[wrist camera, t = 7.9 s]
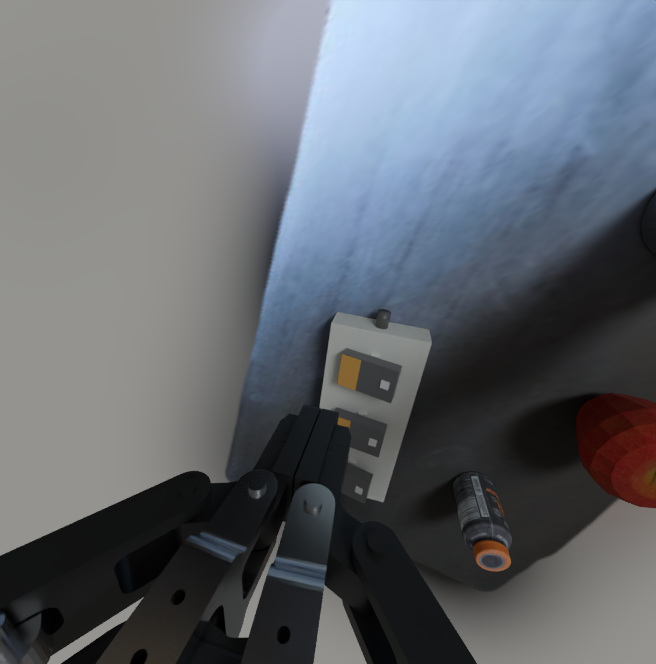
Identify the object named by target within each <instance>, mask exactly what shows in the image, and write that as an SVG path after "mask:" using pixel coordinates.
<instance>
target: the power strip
mask: <svg viewBox="0 0 656 664" xmlns="http://www.w3.org/2000/svg"><path fill="white" fill-rule="evenodd" d="M390 316H391V312H390V311H388V310H385V309H379V310H378V313H377V318H376V319H371V318H365V317H360V316H355V315H350V314H345V313H340V312H337V313H336V315H335V317H334V319H333V321H332V323H331V330H330V337H329V342H328V349H327V356H326V363H325V370H324V371H325V372H324V379H323V386H322V393H321V399H320V406H319V408H321V409H322V408H323V409H328V410H332V411H335V409H336V408H340V409H343V410H346V411H349V412H352V413H355V414H358V415H361V416H364V417H367V418H370V419H373V420H376V421H379V422H382V423H385V424H387V428H386V432H385V436H384V439H383V443H382V447H381V450H380V454H379V458H378V457H375V456H372V455H370V454H367V453H364V452H362V451H359V450H356V449H353V448H351V447H350V450H349V456H348V462H347V463H350V464H352V465H354V466H356V467H358V468H361V469H363V470H365V471H367V472H369V473H371V474H373V477H372V481H371V485H370V489H369V492H368V496H367V498H369V499H373V500H377V501H380V502H384V499H385V495H386V492H387V489H388V486H389V482H390V479H391V476H392V472H393V469H394V466H395V463H396V459H397V456H398V453H399V449H400V446H401V443H402V440H403V436H404V433H405V430H406V426H407V423H408V420H409V417H410V413H411V410H412V407H413V403H414V400H415V397H416V394H417V390H418V387H419V384H420V380H421V377H422V374H423V371H424V367H425V364H426V361H427V357H428V354H429V351H430V348H431V344H432V341H431V337H430V333H429V330H428V329H422V328H417V327H412V326H407V325H402V324H397V323H391V322H389V320H390ZM346 348H348V349H352V350H355V351H358V352H361V353H364V354H367V355H370V356H373V357H376V358H379V359H382V360H386V361H389V362H392V363H395V364H398V365H401V366H402V369H401V373H400V377H399V380H398V384H397V388H396V391H395V395H394V398H393V400H392V402H391V403H388V402H385V401H383V400H380V399H377V398H375V397H372V396H369V395H366V394H364V393H361V392H358V391H356V390H352V389H349V388H347V387H344V386H341V385H339V384H337V380H338V374H339V368H340V362H341V356H342V353H343V351H344V350H345V349H346Z"/></svg>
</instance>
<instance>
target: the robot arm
mask: <svg viewBox="0 0 656 664" xmlns="http://www.w3.org/2000/svg"><path fill="white" fill-rule="evenodd" d="M641 230H642V237H643V240H644V242H645V245H646V246H647V247H648V248H649V250H650V251H651V252H653V253H654V254H656V193H655V195H654V196H653V198H652V199H651V201H650V202H649V204H648V205H647V208H646V210H645V213H644V215H643V219H642V225H641ZM338 418H339V412H337V411H332V410H328V409H323V408H322V409H321V408H318V407H314V406H309V405H304V406H303V408H302V410H301V412H300V414H299V416H297V415H293V414H289V415H287V416H286V417H285V418H283V419H282V420H281V421H280V423H279V424H278V426H277V428H276V430H275V432H274V433H273V435H272V437H271V440H270V441H269V442H268V444H267V446H266V448H265V449H264V451H263V453H262V455H261V457H260V458H259V460H258V462H257V464H256V466H255V467H254V469H253V470H251V471H249V472H247V473H245V474H244V475H242V476H241V477H240V478H239V480H238V481H235V482H229V483H210V479H209V477H208V476H207V475H206V474H204V473H202V472H199V471H189V472H185V473H183V474H180V475H178V476H176V477H173V478H171V479H169V480H167V481H165V482H162V483H160V484H158V485H156V486H154V487H151V488H149V489H147V490H145V491H143V492H140V493H138V494H136V495H134V496H131V497H129V498H127V499H125V500H123V501H121V502H118V503H116V504H114V505H112V506H109V507H107V508H105V509H103V510H101V511H98V512H96V513H94V514H92V515H90V516H87V517H85V518H83V519H81V520H78V521H76V522H74V523H72V524H70V525H67V526H65V527H63V528H61V529H58V530H56V531H54V532H52V533H50V534H48V535H45V536H43V537H41V538H39V539H37V540H34V541H32V542H30V543H28V544H25V545H23V546H21V547H19V548H16V549H14V550H12V551H10V552H8V553H5V554H3V555H1V556H0V664H47V663H48V661H49V659H50V656H52V655H53V654H55V653H56V652H58V651H59V650H61V649H63V648H64V647H66V646H67V645H69V644H70V643H72V642H74V641H75V640H77V639H78V638H80V637H81V636H83V635H85V634H86V633H88V632H89V631H91V630H92V629H94V628H96V627H97V626H99V625H100V624H102V623H103V622H105V621H107V620H108V619H110V618H111V617H113V616H114V615H116V614H118V613H119V612H121V611H122V610H124V609H125V608H127V607H128V606H130V605H132V604H133V603H135V602H136V601H138V600H140V599H141V598H143V597H144V598H143V599H142V600H141V602H140V603H139V605H138V606H137V607H136V609H135V610H134V612H133V613H132V614H131V616H130V617H129V618H128V620H127V621H125V622H123V623H121V624H119V625H117V626H115V627H114V628H112V629H111V630H109V631H108V632H106V633H105V634H103V635H102V636H101V637H99V638H97V639H96V640H95V641H93V642H92V643H90V644H89V645H87V646H86V647H84V648H83V649H82V650H80V651H79V652H77V653H76V654H74V655H73V656H71V657H70V658H68V659H67V660H66V661H64V662H63V663H61V664H313V662H314V655H315V648H316V641H317V633H318V627H319V619H320V612H321V605H322V598H323V591H324V585H325V586H327V587H328V588H329V589H330V590H331V591H333V592H334V593H335V594H336V595H338V596H339V597H340V598H341V599H342V601H343V605H344V608H345V610H346V613H347V616H348V618H349V620H350V623H351V626H352V628H353V630H354V633H355V635H356V638H357V640H358V643H359V645H360V647H361V650H362V652H363V655H364V657H365V660H366V662H367V664H477V663H476V661H475V660H474V658H473V657H472V655H471V654H470V652H469V650H468V649H467V647H466V646H465V644H464V642H463V641H462V639H461V638H460V636H459V634H458V633H457V631H456V630H455V628H454V626H453V625H452V623H451V622H450V620H449V619H448V617H447V616H446V614H445V612H444V611H443V609H442V607H441V606H440V604H439V603H438V601H437V600H436V598H435V596H434V595H433V593H432V592H431V590H430V588H429V587H428V585H427V584H426V582H425V581H424V579H423V577H421V574H420V573H419V571H418V570H417V568H416V567H415V565H414V563H413V562H412V560H411V558H410V557H409V555H408V554H407V552H406V551H405V549H404V547H403V546H402V544H401V543H400V541H399V539H398V538H397V536H396V535H395V533H394V532H393V531H392V530H391V529H390V528H389V527H387V526H386V525H384V524H382V523H380V522H376V521H368V522H365V523H363V524H362V523H360V522H359V521H357V520H356V519H354V518H353V517H352V516H350V515H349V514H348V513H347V512H346V511H345V509H344V508H343V506H342V504H341V502H340V495H341V491H342V486H343V481H344V477H345V472H346V467H347V462H348V456H349V450H350V443H351V434H350V431H349V427H345V426H341V425H338ZM282 521H284V522H286V523H285V526H284V530H283V533H282V537H281V540H280V544H279V547H278V551H277V554H276V558H275V560H274V563H272V564H271V566H270V568H269V570H268V574H267V576H266V580H265V583H264V586H263V590H262V594H261V597H260V600H259V604H258V607H257V610H256V614H255V617H254V621H253V624H252V627H251V631H250V634H249V637H248V638H238V636H239V633H240V631H241V628H242V624H243V621H244V617H245V613H246V609H247V606H248V604H249V601H250V599H251V597H252V595H253V592H254V590H255V588H256V586H257V584H258V581H259V579H260V577H261V575H262V572H263V570H264V568H265V566H266V563H267V562H268V559H269V557H270V554H271V553H272V551H273V548H274V546H275V543H276V539H277V535H278V532H279V529H280V527H281V524H282Z"/></svg>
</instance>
